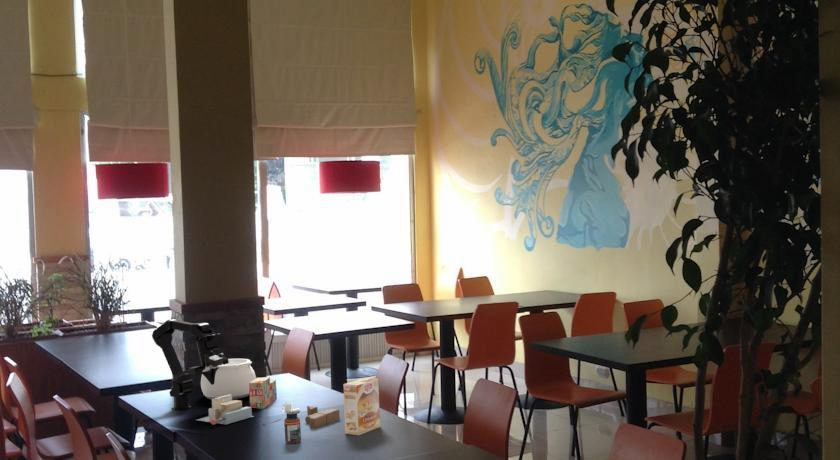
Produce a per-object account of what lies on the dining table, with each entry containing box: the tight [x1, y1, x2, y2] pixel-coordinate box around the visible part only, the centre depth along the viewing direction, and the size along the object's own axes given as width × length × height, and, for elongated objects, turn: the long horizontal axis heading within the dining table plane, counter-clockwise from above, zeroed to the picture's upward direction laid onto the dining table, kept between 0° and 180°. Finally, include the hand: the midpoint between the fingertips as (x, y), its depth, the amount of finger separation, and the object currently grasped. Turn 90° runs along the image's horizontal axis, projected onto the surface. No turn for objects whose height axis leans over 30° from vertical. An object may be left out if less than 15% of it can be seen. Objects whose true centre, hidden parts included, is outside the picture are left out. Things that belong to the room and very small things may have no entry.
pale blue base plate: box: [196, 406, 255, 426], centre depth 364 cm, size 19×22×5 cm
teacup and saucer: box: [281, 402, 301, 413], centre depth 377 cm, size 9×8×4 cm
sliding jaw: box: [208, 394, 233, 421], centre depth 367 cm, size 4×14×9 cm, turn 145°
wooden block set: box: [304, 405, 341, 429], centre depth 357 cm, size 17×6×18 cm
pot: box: [200, 358, 257, 400], centre depth 420 cm, size 29×26×17 cm
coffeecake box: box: [342, 377, 381, 436], centre depth 339 cm, size 15×7×20 cm, turn 148°
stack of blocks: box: [249, 376, 278, 410], centre depth 397 cm, size 21×6×12 cm, turn 173°
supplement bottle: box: [283, 411, 302, 445], centre depth 325 cm, size 6×6×11 cm
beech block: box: [219, 399, 243, 418], centre depth 364 cm, size 4×9×7 cm, turn 145°
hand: (212, 384), depth 388 cm, fingers closed
